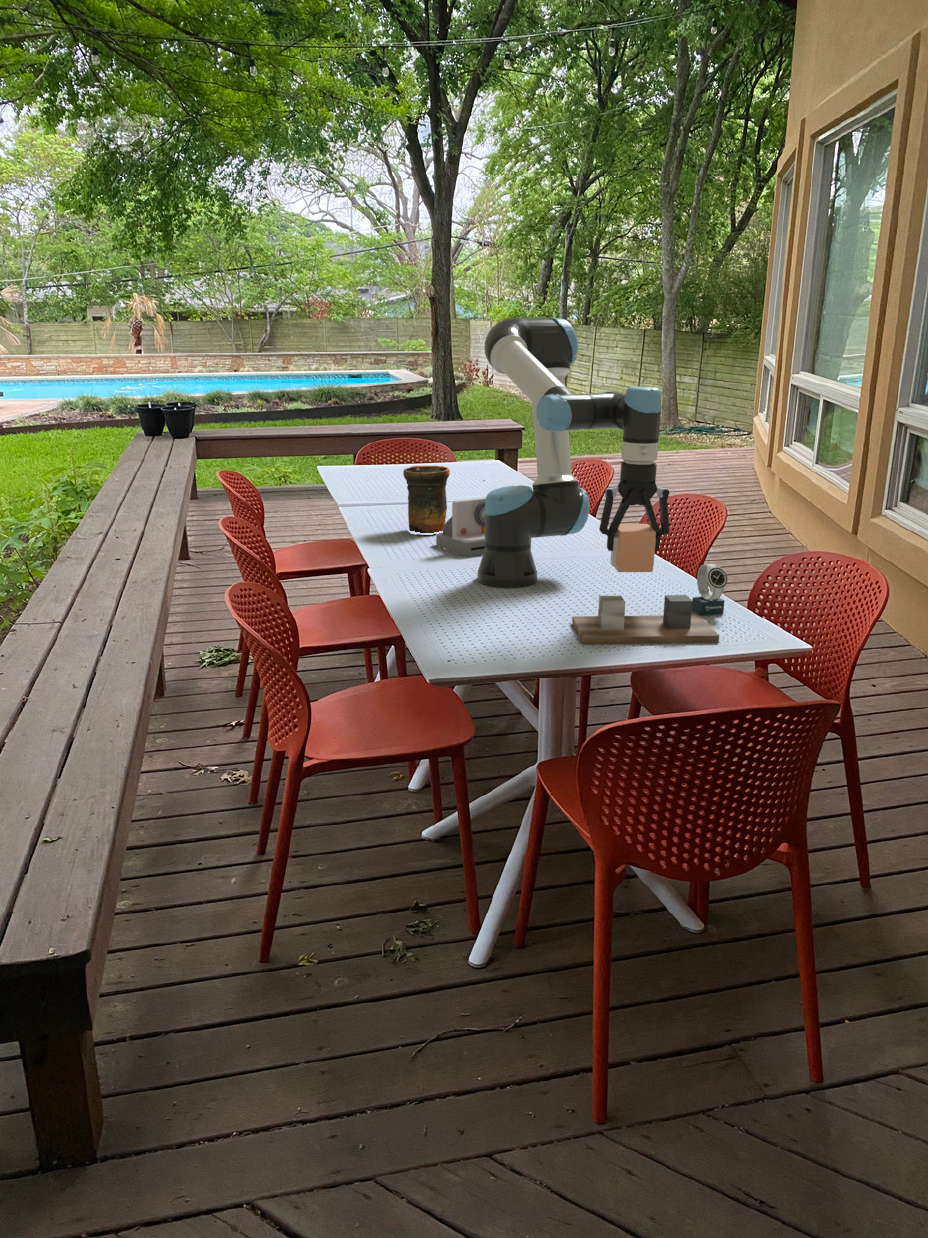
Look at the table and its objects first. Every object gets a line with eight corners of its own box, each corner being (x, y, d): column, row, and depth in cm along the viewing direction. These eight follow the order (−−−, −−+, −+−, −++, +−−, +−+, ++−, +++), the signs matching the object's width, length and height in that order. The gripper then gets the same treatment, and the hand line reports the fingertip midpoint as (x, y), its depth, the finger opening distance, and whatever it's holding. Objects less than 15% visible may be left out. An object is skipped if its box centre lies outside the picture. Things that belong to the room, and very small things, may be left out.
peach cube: (611, 562, 208) (613, 523, 205) (644, 562, 209) (647, 523, 206) (618, 572, 201) (620, 531, 198) (652, 572, 201) (655, 531, 198)
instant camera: (456, 558, 258) (456, 505, 253) (430, 543, 276) (430, 493, 271) (525, 552, 265) (526, 500, 261) (495, 537, 284) (495, 488, 279)
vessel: (460, 532, 289) (458, 468, 283) (421, 539, 281) (419, 473, 275) (435, 524, 300) (433, 463, 294) (397, 531, 293) (394, 467, 286)
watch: (706, 618, 205) (710, 570, 202) (687, 608, 212) (691, 561, 209) (728, 616, 206) (732, 568, 203) (709, 606, 214) (713, 559, 211)
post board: (572, 623, 201) (573, 589, 199) (699, 621, 203) (701, 588, 200) (582, 644, 188) (584, 608, 186) (718, 642, 189) (721, 607, 187)
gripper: (594, 464, 193) (588, 569, 201) (691, 464, 194) (682, 569, 202) (588, 458, 200) (583, 560, 208) (681, 458, 201) (673, 560, 209)
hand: (631, 564), depth 205 cm, fingers closed on peach cube, 8 cm apart
